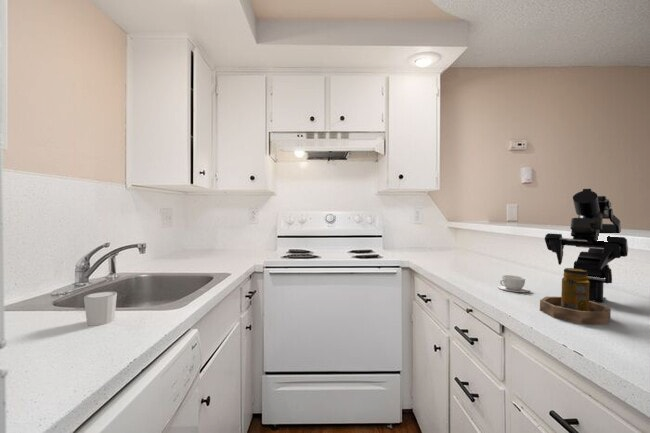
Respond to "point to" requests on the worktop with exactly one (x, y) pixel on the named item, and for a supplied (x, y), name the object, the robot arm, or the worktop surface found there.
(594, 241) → the robot arm
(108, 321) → the shot glass
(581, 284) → the condiment
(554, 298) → the ring seat
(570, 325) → the worktop surface
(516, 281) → the teacup
